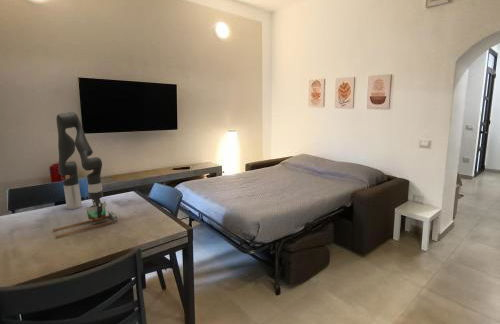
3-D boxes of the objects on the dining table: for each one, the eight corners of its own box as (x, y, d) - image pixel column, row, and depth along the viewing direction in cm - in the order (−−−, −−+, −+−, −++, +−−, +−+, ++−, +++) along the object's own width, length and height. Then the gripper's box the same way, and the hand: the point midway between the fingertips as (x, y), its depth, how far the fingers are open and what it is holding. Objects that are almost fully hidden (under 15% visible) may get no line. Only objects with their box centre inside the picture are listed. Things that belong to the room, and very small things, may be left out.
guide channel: (53, 231, 166) (51, 225, 165) (112, 216, 187) (111, 211, 186) (55, 238, 157) (54, 231, 157) (117, 222, 178) (116, 216, 177)
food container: (91, 224, 169) (89, 208, 167) (86, 222, 173) (84, 206, 171) (111, 218, 179) (109, 203, 177) (106, 215, 182) (105, 201, 180)
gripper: (85, 188, 175) (89, 214, 179) (91, 194, 164) (94, 221, 168) (99, 186, 180) (102, 211, 183) (105, 191, 169) (108, 218, 173)
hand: (98, 216), depth 176 cm, fingers closed on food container, 5 cm apart
